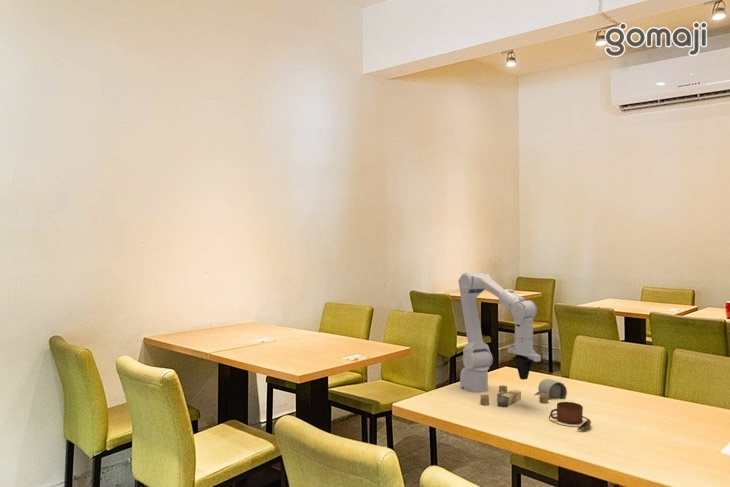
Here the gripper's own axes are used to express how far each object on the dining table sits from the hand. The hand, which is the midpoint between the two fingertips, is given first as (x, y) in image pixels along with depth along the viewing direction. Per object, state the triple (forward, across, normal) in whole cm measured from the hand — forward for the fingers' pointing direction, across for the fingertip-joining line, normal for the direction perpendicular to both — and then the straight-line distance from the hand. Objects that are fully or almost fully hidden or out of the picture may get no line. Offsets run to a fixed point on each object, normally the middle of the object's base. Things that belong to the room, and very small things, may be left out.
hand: (523, 378), depth 178 cm
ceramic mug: (+11, +6, -15) cm, 19 cm away
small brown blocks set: (+10, +4, +1) cm, 11 cm away
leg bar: (+9, +5, +2) cm, 10 cm away
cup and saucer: (+11, -16, -4) cm, 20 cm away
